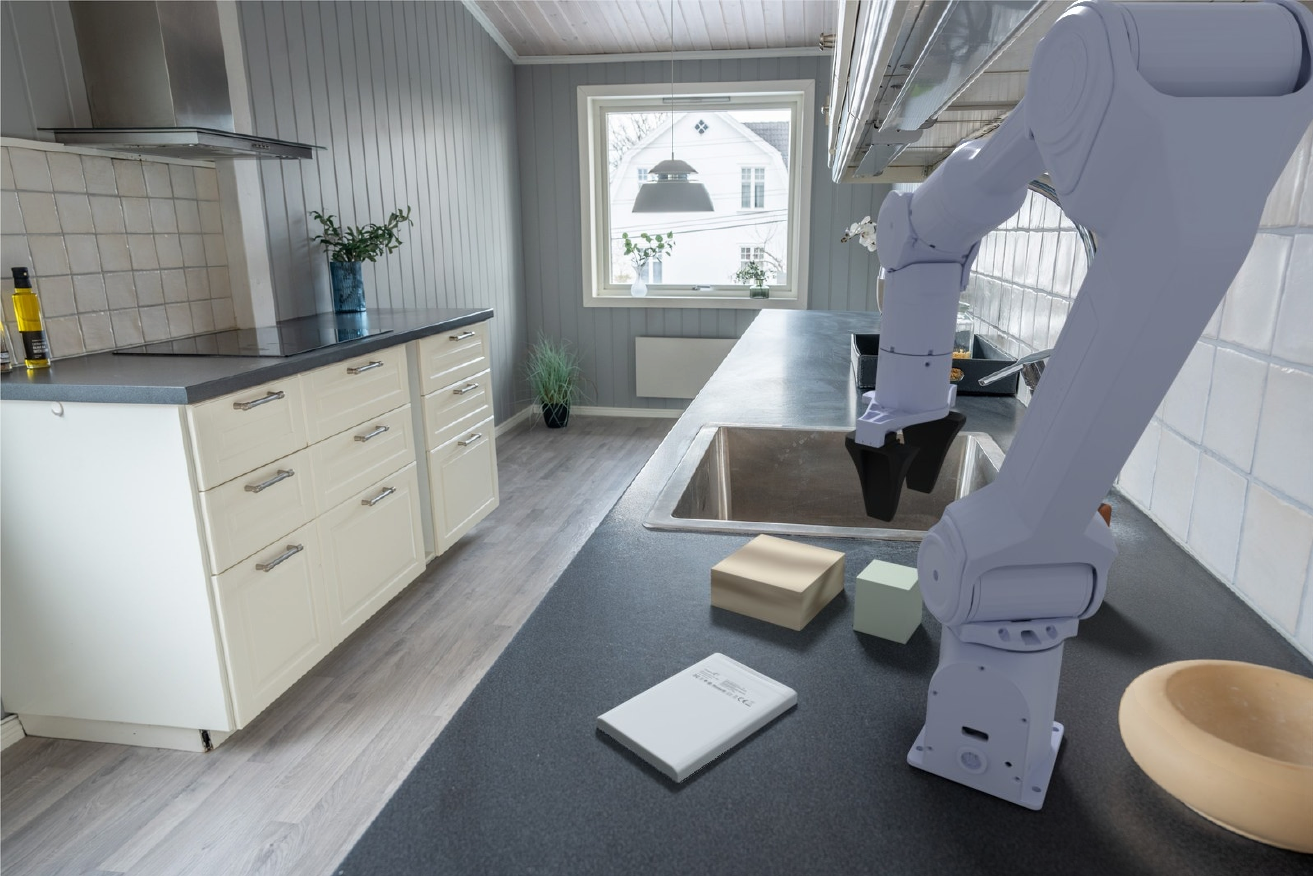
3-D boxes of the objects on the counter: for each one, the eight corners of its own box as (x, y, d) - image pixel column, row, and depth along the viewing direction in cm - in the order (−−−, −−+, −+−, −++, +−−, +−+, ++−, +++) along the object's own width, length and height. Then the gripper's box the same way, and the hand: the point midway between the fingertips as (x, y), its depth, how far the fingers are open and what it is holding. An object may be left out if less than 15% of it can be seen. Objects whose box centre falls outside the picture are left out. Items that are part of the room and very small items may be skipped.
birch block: (799, 634, 67) (801, 592, 66) (710, 608, 72) (710, 568, 71) (843, 591, 75) (845, 553, 74) (760, 570, 80) (761, 534, 79)
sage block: (904, 644, 65) (909, 590, 64) (853, 630, 67) (856, 577, 66) (921, 622, 68) (925, 570, 67) (871, 609, 71) (874, 559, 70)
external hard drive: (596, 735, 55) (715, 666, 63) (678, 792, 49) (797, 709, 57) (595, 715, 54) (715, 648, 63) (677, 770, 49) (798, 689, 57)
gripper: (908, 328, 70) (894, 469, 74) (825, 357, 60) (815, 517, 64) (987, 338, 65) (968, 487, 70) (912, 371, 55) (895, 542, 60)
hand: (900, 503), depth 67 cm, fingers open, 7 cm apart
